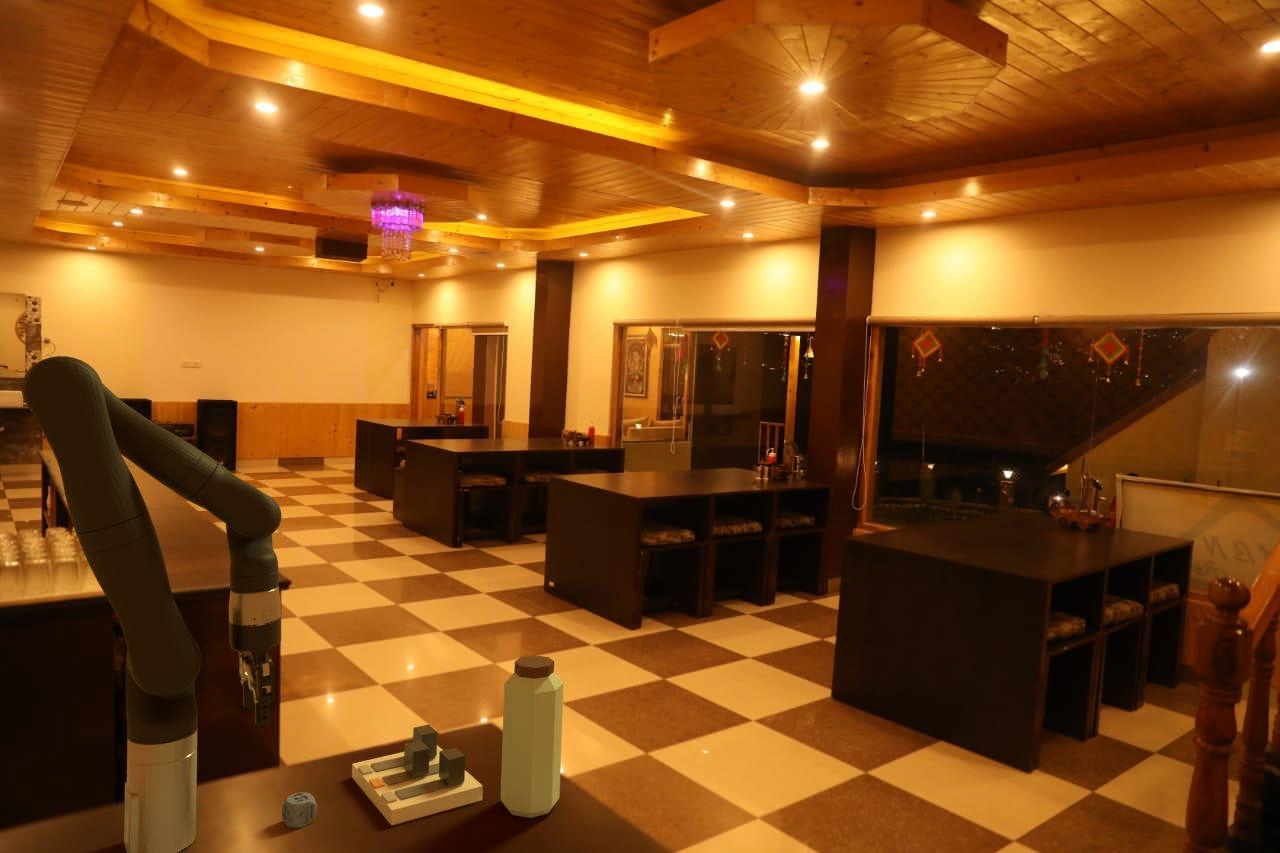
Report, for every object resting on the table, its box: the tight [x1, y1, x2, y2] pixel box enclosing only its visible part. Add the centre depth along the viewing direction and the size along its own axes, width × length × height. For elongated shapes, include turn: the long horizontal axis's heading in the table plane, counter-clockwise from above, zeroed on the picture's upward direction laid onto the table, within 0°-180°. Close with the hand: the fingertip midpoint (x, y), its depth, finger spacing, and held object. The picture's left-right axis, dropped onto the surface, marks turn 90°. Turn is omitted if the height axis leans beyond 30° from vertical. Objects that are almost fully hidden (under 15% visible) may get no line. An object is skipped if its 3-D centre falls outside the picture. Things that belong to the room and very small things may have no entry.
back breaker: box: [412, 724, 438, 758], centre depth 156 cm, size 3×4×4 cm
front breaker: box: [439, 747, 466, 786], centre depth 147 cm, size 3×4×4 cm
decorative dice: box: [281, 791, 318, 829], centre depth 137 cm, size 4×4×4 cm
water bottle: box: [500, 654, 564, 819], centre depth 144 cm, size 10×10×25 cm
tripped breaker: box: [403, 740, 429, 778], centre depth 149 cm, size 3×4×4 cm
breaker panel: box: [351, 744, 484, 826], centre depth 149 cm, size 16×20×3 cm
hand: (257, 715), depth 136 cm, fingers open, 8 cm apart
